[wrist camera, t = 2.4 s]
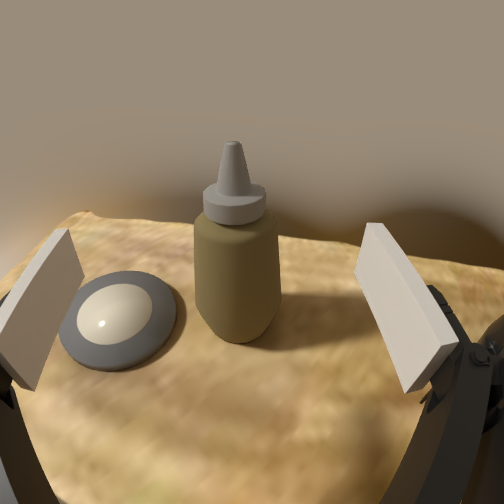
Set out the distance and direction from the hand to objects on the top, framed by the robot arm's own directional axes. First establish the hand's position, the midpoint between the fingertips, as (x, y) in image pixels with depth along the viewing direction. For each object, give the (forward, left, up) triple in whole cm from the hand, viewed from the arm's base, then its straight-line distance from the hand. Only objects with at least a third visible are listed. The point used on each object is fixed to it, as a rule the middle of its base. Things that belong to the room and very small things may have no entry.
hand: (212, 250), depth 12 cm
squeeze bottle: (+10, -3, -16) cm, 19 cm away
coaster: (+14, +10, -16) cm, 23 cm away
